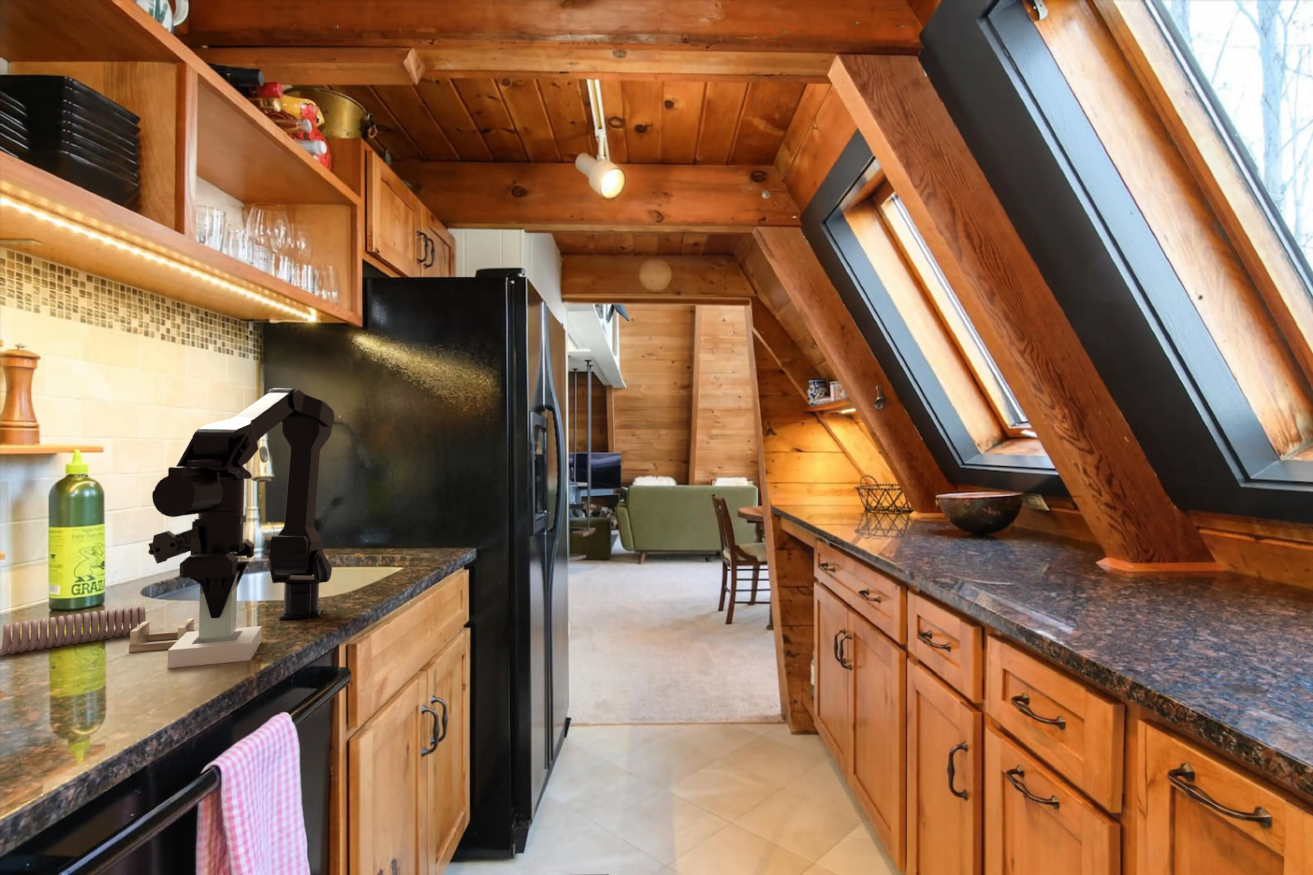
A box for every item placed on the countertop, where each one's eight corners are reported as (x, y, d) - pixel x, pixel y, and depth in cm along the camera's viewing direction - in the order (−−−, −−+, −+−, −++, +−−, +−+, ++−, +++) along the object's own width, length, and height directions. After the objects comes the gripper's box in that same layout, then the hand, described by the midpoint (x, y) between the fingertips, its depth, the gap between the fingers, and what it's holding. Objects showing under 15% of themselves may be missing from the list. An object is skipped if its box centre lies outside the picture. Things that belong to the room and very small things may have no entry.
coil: (144, 603, 113) (-5, 623, 100) (151, 604, 110) (-1, 625, 97) (144, 631, 113) (-5, 655, 99) (151, 633, 110) (-2, 658, 96)
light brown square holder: (143, 640, 106) (144, 621, 106) (194, 635, 109) (194, 617, 109) (128, 652, 100) (129, 632, 100) (183, 647, 103) (183, 627, 103)
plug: (205, 631, 101) (206, 578, 101) (236, 628, 102) (237, 576, 102) (198, 638, 97) (200, 583, 97) (230, 635, 99) (232, 581, 99)
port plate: (186, 648, 102) (187, 631, 102) (261, 641, 106) (261, 625, 106) (167, 668, 93) (168, 650, 93) (250, 660, 97) (250, 642, 97)
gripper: (174, 506, 106) (172, 605, 105) (134, 518, 88) (131, 636, 88) (255, 504, 110) (253, 599, 110) (232, 515, 93) (230, 628, 92)
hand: (218, 614), depth 100 cm, fingers closed on plug, 4 cm apart
